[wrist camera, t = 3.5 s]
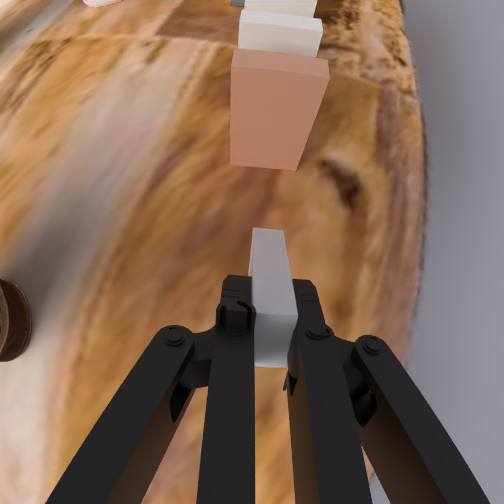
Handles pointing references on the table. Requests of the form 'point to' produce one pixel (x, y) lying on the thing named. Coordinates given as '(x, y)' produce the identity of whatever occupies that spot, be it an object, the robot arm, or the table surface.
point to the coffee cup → (13, 321)
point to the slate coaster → (237, 3)
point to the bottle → (100, 2)
